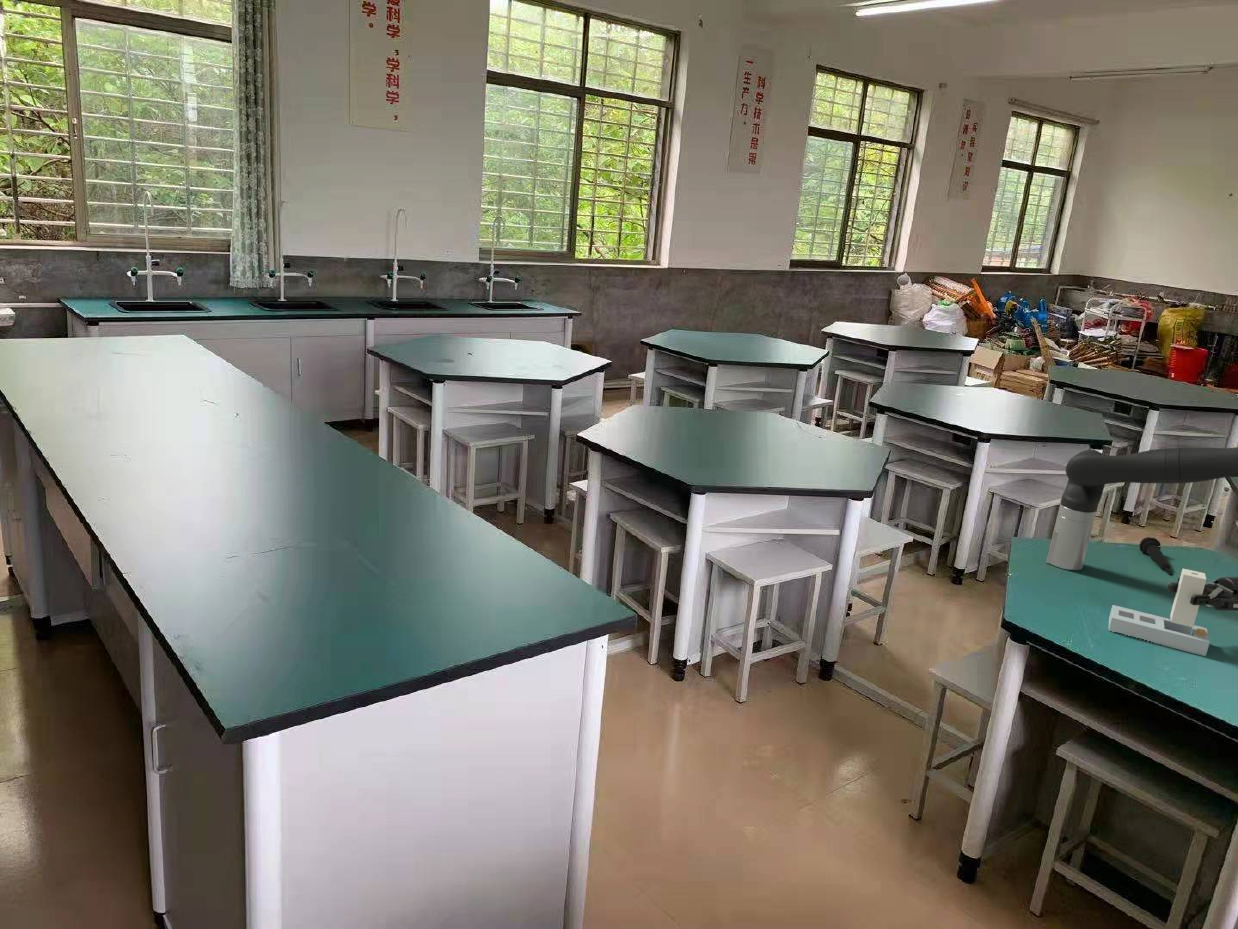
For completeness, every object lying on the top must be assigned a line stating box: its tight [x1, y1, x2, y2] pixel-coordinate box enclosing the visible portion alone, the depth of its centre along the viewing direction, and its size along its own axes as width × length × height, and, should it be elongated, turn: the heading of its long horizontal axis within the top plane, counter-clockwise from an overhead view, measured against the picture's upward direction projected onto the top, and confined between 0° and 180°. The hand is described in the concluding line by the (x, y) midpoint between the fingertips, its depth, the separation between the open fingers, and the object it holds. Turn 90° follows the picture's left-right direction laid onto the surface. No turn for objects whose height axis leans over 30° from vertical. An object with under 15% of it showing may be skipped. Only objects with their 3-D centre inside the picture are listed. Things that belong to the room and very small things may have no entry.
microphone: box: [1138, 536, 1173, 576], centre depth 266 cm, size 6×6×20 cm
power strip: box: [1108, 604, 1211, 657], centre depth 216 cm, size 20×9×4 cm, turn 61°
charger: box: [1169, 568, 1207, 627], centre depth 211 cm, size 4×4×12 cm
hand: (1180, 593), depth 211 cm, fingers closed on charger, 6 cm apart
